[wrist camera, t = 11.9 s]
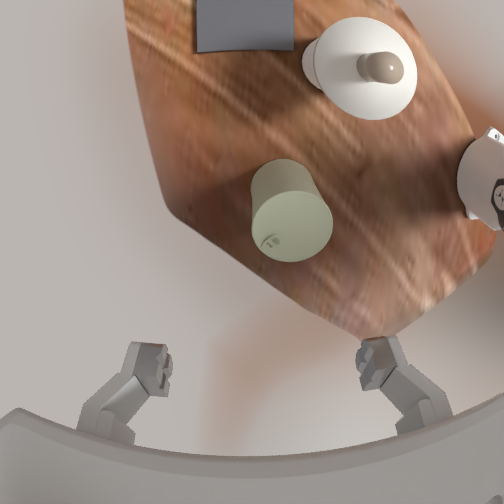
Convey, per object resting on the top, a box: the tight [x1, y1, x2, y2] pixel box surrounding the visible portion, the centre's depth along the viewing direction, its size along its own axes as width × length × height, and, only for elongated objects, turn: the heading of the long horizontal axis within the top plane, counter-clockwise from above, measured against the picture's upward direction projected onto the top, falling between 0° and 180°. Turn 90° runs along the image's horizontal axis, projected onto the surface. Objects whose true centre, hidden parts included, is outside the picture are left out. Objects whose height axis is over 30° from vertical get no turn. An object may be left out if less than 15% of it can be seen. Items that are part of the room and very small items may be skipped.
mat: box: [197, 0, 294, 53], centre depth 24 cm, size 12×12×1 cm
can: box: [251, 159, 333, 262], centre depth 35 cm, size 9×9×12 cm
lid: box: [313, 17, 417, 120], centre depth 19 cm, size 11×11×5 cm
